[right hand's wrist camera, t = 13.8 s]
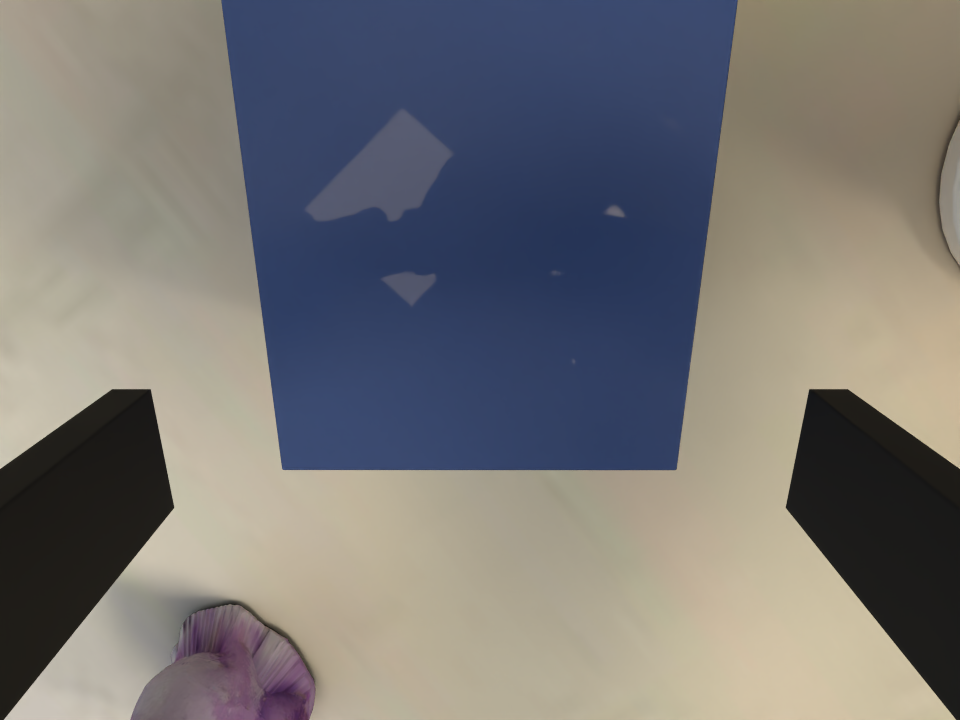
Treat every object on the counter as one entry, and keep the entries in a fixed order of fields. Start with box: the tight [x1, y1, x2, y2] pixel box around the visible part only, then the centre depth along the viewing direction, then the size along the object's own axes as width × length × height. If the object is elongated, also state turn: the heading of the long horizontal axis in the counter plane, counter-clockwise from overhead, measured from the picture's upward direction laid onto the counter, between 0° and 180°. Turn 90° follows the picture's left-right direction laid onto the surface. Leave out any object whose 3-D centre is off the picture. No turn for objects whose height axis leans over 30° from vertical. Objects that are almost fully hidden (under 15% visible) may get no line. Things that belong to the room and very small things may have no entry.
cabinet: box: [221, 0, 738, 470], centre depth 21 cm, size 14×12×12 cm
